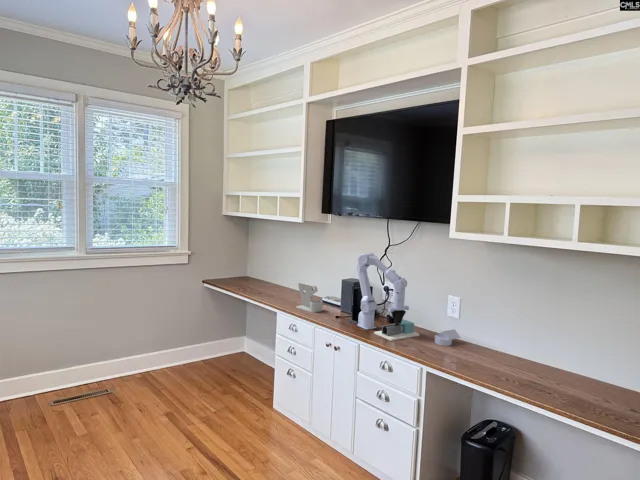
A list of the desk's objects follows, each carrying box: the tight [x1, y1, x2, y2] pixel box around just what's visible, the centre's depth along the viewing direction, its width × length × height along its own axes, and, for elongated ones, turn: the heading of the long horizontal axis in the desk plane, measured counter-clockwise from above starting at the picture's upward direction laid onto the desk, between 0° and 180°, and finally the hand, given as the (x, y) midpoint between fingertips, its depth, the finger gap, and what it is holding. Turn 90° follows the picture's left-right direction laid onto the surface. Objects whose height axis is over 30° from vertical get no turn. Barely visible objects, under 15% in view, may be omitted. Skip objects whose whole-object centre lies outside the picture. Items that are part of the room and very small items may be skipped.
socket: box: [399, 319, 415, 334], centre depth 257 cm, size 7×6×6 cm
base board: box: [373, 330, 420, 341], centre depth 253 cm, size 14×22×1 cm, turn 124°
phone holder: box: [295, 281, 324, 313], centre depth 299 cm, size 17×10×18 cm, turn 46°
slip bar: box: [394, 320, 404, 332], centre depth 255 cm, size 3×10×7 cm, turn 124°
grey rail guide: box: [381, 323, 401, 336], centre depth 250 cm, size 5×10×5 cm, turn 124°
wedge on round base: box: [434, 328, 461, 347], centre depth 244 cm, size 9×7×13 cm
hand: (397, 323), depth 252 cm, fingers closed on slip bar, 2 cm apart
